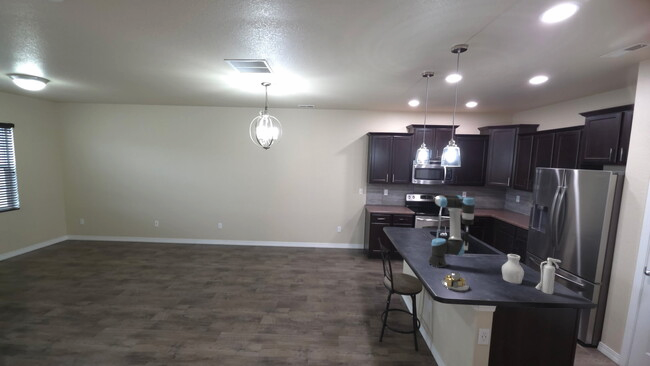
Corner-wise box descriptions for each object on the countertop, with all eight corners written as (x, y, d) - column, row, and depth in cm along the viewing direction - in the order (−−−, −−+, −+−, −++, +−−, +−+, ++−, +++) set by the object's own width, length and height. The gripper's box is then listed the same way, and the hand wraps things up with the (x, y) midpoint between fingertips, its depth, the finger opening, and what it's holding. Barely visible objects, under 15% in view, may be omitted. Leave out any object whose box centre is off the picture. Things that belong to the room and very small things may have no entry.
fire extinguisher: (533, 287, 190) (537, 255, 187) (554, 291, 184) (559, 258, 182) (536, 291, 183) (540, 258, 181) (557, 296, 178) (563, 261, 176)
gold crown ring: (457, 289, 178) (458, 282, 178) (440, 283, 187) (440, 276, 187) (467, 283, 189) (467, 276, 188) (450, 277, 198) (450, 271, 198)
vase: (496, 277, 205) (498, 253, 204) (508, 275, 211) (509, 251, 209) (516, 285, 192) (518, 259, 191) (527, 282, 198) (529, 257, 196)
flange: (437, 284, 190) (438, 272, 190) (447, 277, 202) (448, 266, 202) (462, 294, 177) (463, 281, 176) (472, 286, 189) (473, 274, 188)
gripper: (462, 216, 197) (460, 246, 198) (461, 219, 185) (459, 251, 187) (473, 217, 193) (471, 248, 195) (473, 220, 182) (471, 253, 183)
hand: (465, 249), depth 191 cm, fingers closed
